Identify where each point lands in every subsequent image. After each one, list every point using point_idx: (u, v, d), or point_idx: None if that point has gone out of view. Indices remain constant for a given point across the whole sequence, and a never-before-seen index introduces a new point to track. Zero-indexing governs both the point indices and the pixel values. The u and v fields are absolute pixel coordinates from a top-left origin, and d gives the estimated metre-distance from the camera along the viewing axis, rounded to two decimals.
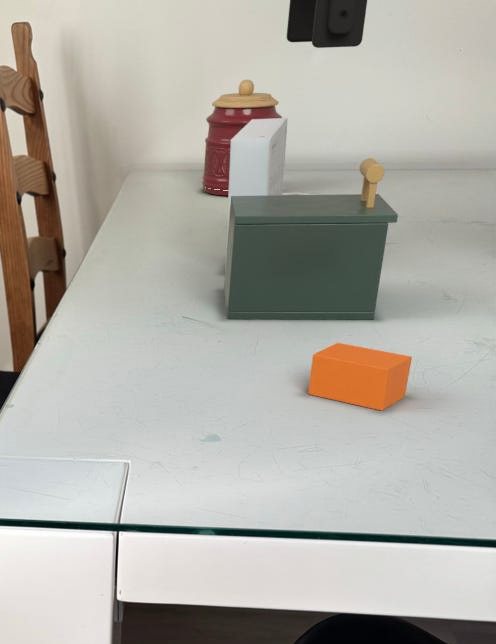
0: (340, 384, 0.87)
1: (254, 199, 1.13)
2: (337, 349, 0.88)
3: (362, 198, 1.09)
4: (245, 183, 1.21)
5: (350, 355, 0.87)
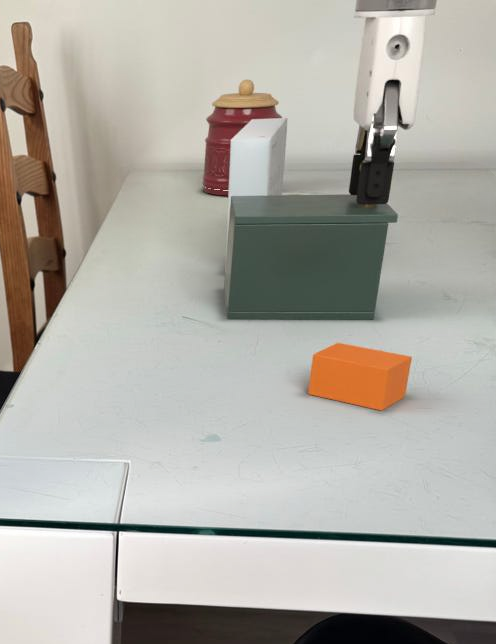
0: (340, 384, 0.87)
1: (254, 199, 1.13)
2: (337, 349, 0.88)
3: None
4: (245, 183, 1.21)
5: (350, 355, 0.87)
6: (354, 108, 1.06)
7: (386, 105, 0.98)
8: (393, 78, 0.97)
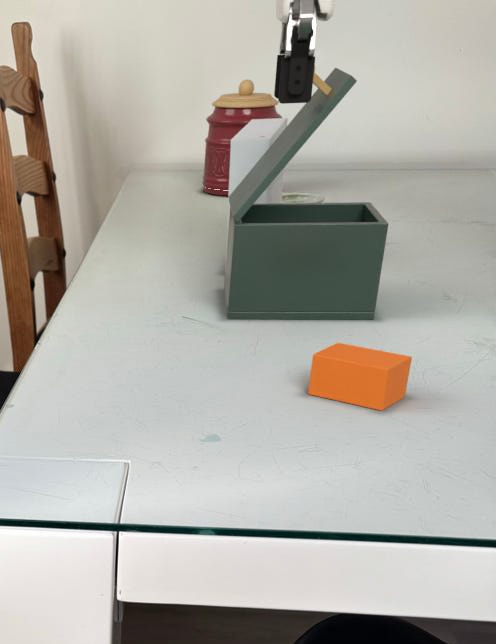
0: (340, 384, 0.87)
1: (244, 182, 1.12)
2: (337, 349, 0.88)
3: (321, 89, 1.04)
4: None
5: (350, 355, 0.87)
6: None
7: None
8: None
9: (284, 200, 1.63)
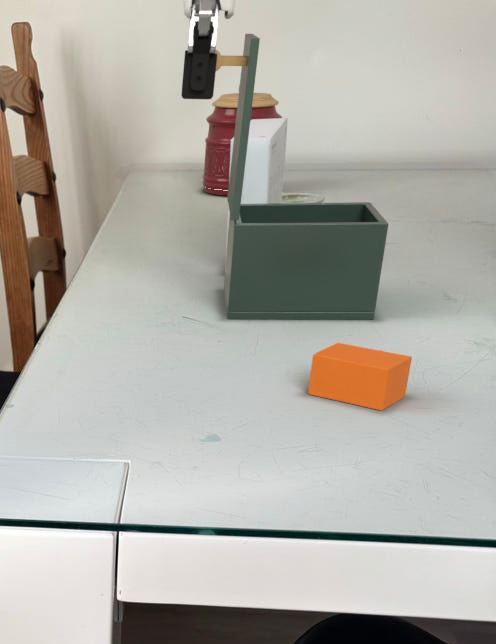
0: (340, 384, 0.87)
1: (230, 179, 1.12)
2: (337, 349, 0.88)
3: None
4: (245, 183, 1.21)
5: (350, 355, 0.87)
6: None
7: None
8: None
9: (284, 200, 1.63)
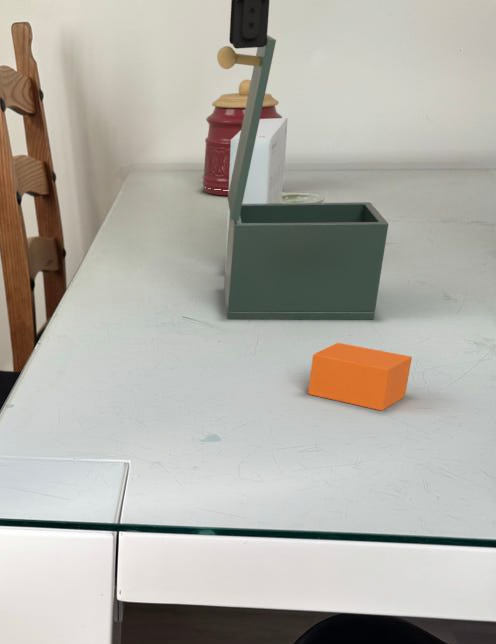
0: (340, 384, 0.87)
1: (232, 179, 1.12)
2: (337, 349, 0.88)
3: None
4: None
5: (350, 355, 0.87)
6: None
7: None
8: None
9: (284, 200, 1.63)
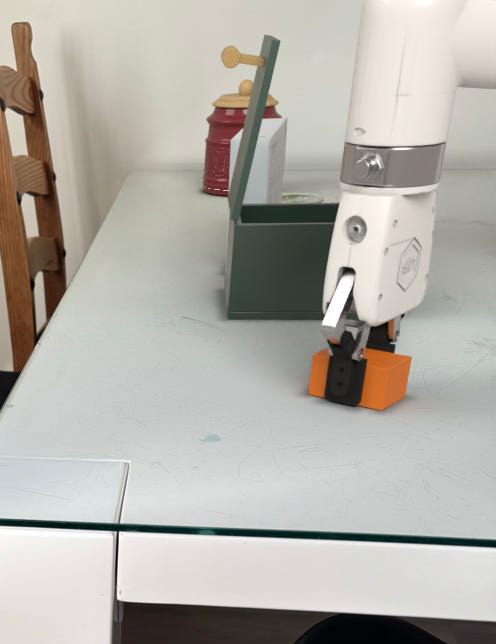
0: None
1: (233, 179, 1.12)
2: None
3: None
4: None
5: None
6: None
7: (334, 297, 0.80)
8: (347, 267, 0.79)
9: (284, 200, 1.63)
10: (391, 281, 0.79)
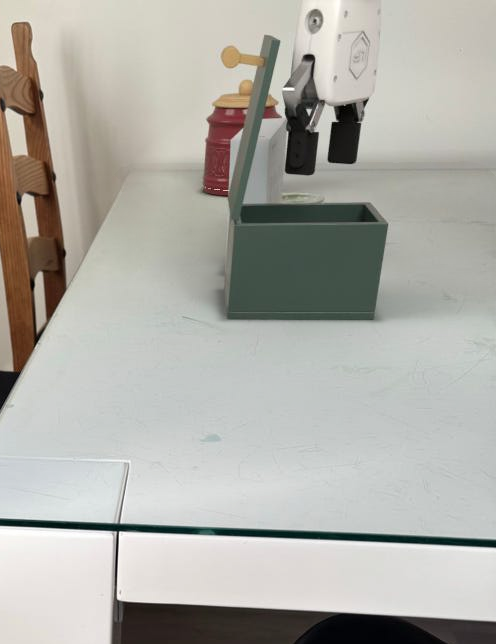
0: None
1: (233, 179, 1.12)
2: None
3: None
4: None
5: None
6: None
7: (296, 70, 0.98)
8: (310, 47, 0.98)
9: (284, 200, 1.63)
10: (344, 66, 0.98)
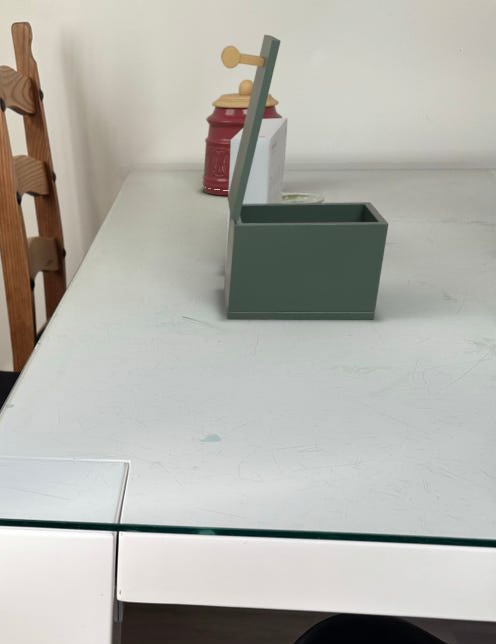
0: None
1: (233, 179, 1.12)
2: None
3: None
4: None
5: None
6: None
7: None
8: None
9: (284, 200, 1.63)
10: None
